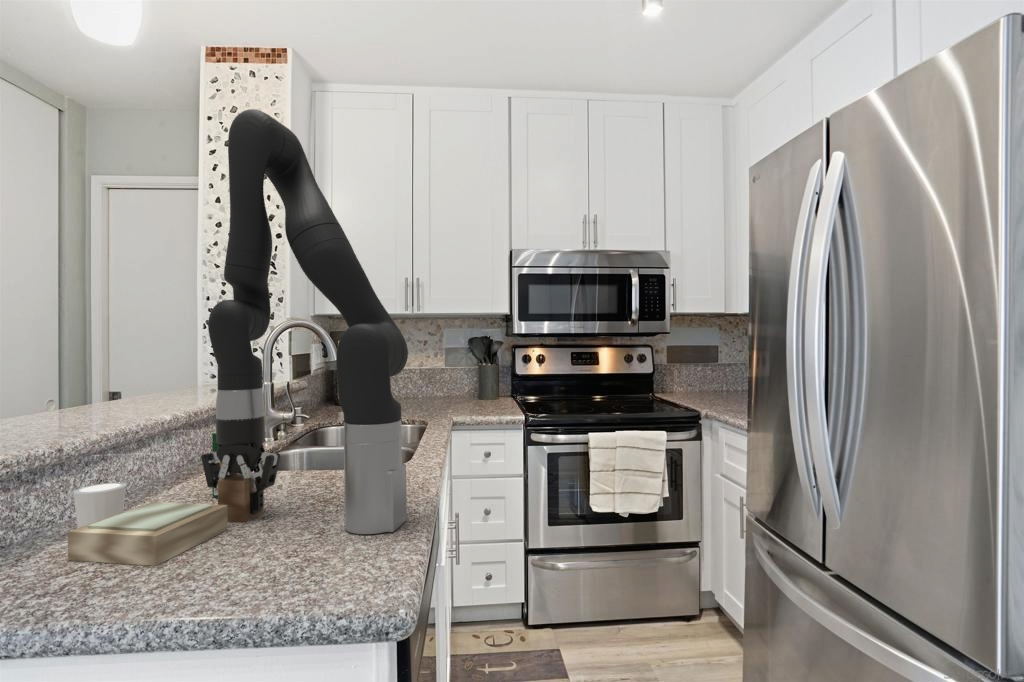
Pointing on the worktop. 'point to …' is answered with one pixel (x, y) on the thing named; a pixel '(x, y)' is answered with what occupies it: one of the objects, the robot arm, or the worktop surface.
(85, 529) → the plinth
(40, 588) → the worktop surface
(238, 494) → the walnut block
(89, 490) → the white cup
